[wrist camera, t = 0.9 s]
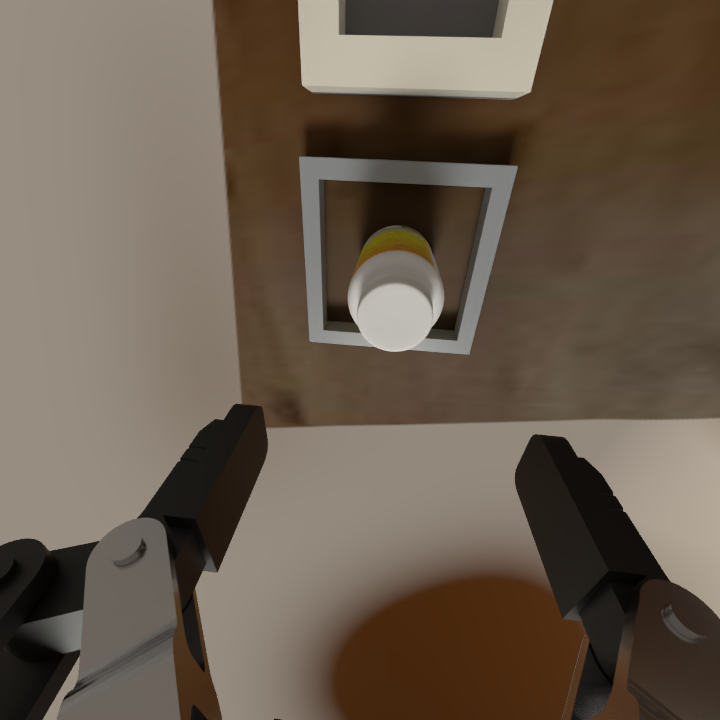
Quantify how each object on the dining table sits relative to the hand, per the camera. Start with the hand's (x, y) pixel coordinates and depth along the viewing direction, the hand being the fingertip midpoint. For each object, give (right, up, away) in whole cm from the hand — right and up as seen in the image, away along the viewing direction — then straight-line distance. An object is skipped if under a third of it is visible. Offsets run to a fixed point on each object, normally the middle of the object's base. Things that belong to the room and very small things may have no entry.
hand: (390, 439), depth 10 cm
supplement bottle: (+2, +10, +15) cm, 19 cm away
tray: (+2, +10, +15) cm, 18 cm away
